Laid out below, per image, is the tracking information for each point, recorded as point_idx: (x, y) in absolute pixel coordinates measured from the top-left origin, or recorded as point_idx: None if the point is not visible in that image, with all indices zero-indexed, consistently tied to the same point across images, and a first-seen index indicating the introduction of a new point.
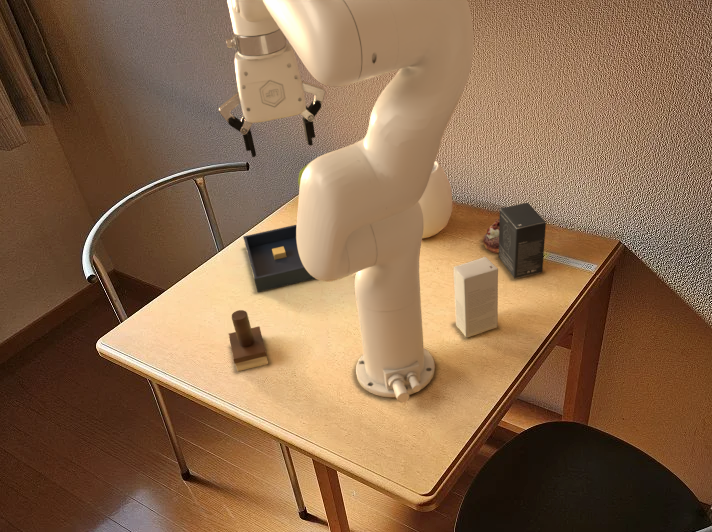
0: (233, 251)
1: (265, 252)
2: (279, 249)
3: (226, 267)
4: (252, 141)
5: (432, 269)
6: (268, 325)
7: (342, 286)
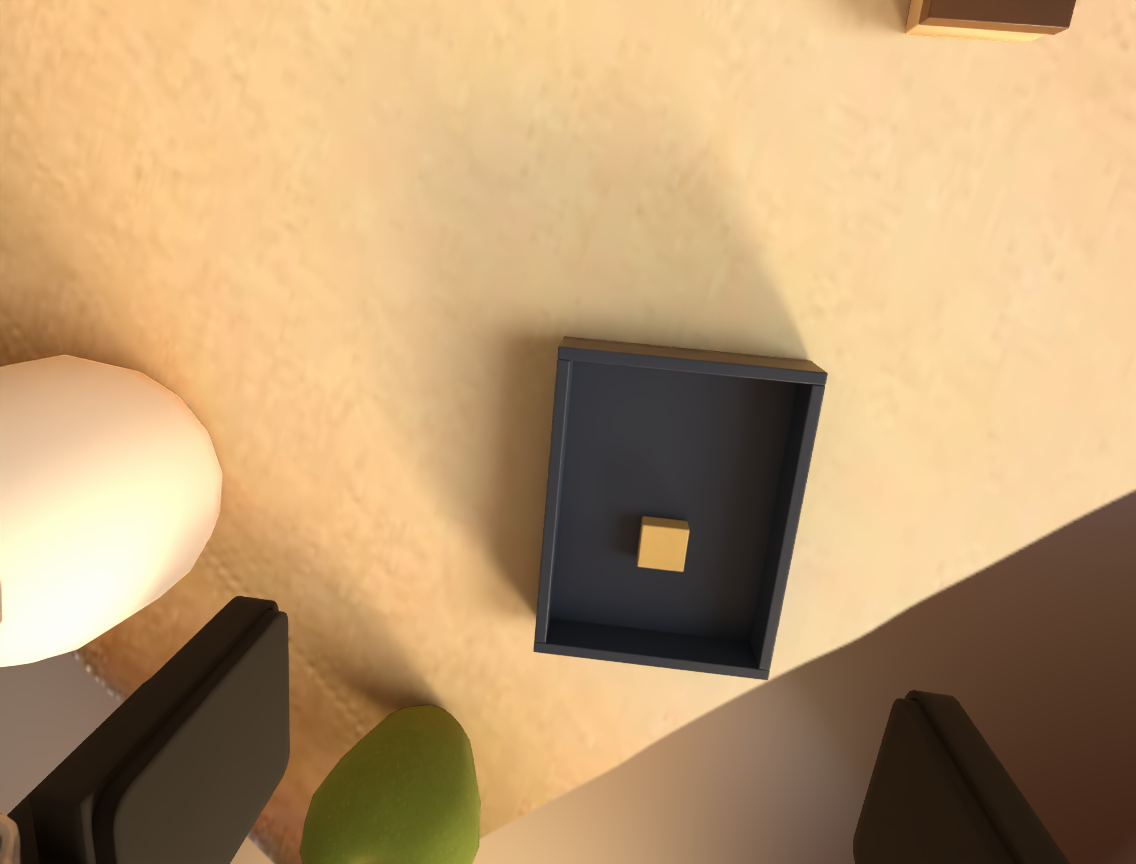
0: (804, 656)
1: (704, 583)
2: (658, 553)
3: (861, 573)
4: (998, 843)
5: (157, 179)
6: (847, 119)
7: (503, 238)
